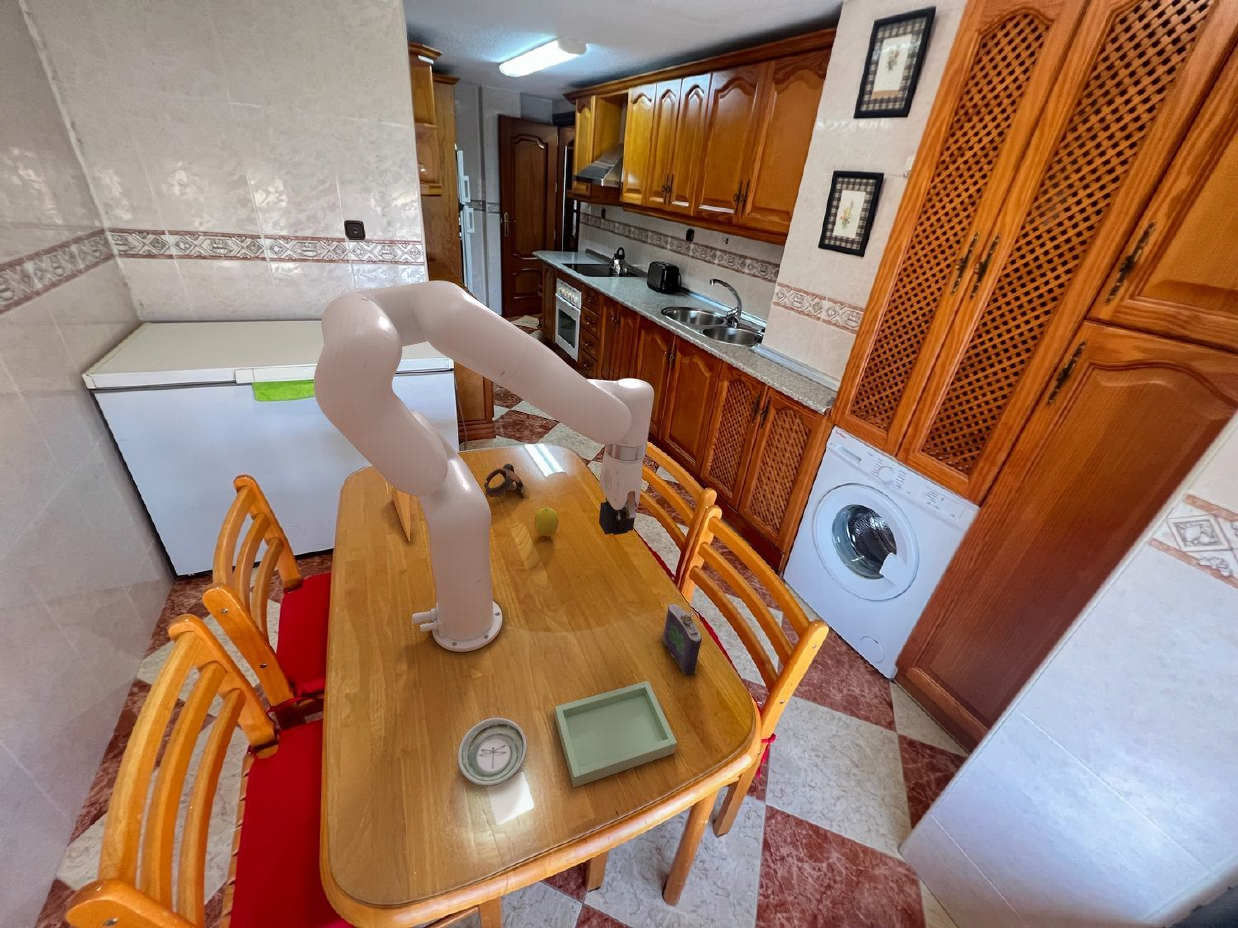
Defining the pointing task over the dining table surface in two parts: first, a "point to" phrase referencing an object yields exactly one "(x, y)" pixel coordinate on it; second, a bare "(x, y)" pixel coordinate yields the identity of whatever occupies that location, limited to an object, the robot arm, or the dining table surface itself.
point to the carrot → (402, 509)
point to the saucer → (492, 751)
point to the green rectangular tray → (613, 732)
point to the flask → (682, 638)
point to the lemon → (546, 521)
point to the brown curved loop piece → (507, 484)
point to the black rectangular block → (610, 518)
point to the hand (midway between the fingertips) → (615, 525)
